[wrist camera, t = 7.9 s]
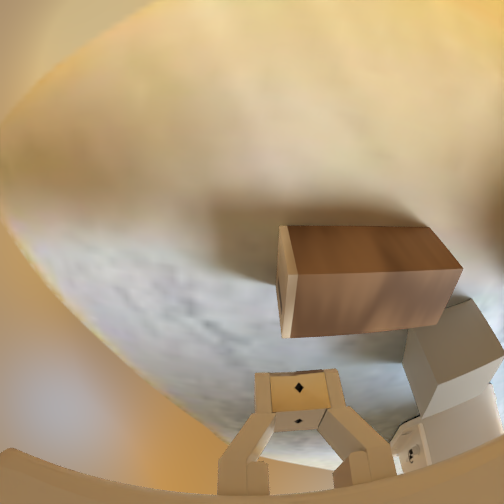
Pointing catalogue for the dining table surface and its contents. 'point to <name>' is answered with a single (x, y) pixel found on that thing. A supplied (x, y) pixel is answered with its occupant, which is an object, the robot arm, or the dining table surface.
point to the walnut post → (361, 279)
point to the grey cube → (451, 359)
